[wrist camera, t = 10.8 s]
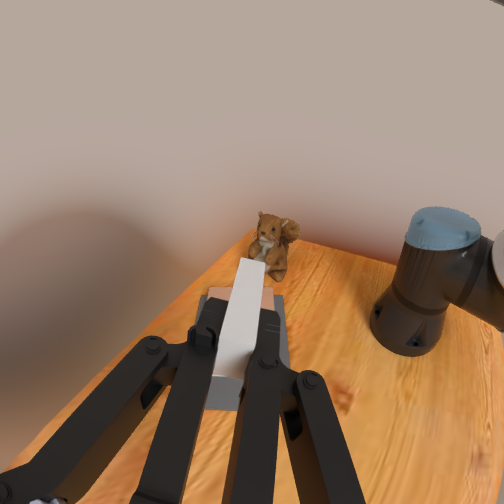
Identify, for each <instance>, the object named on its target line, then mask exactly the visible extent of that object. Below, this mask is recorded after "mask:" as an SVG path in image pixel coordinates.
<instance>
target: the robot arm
mask: <svg viewBox="0 0 504 504" xmlns="http://www.w3.org/2000/svg"><path fill="white" fill-rule="evenodd" d="M491 1H493V2H495V3H498V4H500V5H502V6H504V0H491ZM265 264H266V263H264V262H260V261H255V260H251V259H247V258H243V257H241V260H240V263H239V267H238V271H237V274H236V278H235V281H234V285H233V289H232V292H231V296H230V300H229V301H227V300H223V299H218V298H214V297H210V298H209V299H208V300H207V301H205V303H204V306H203V309H202V311H201V314H200V317H199V319H198V322H197V324H196V325H194V326H192V327H190V329H189V330H188V336H187V341H186V342H185V343H181V344H167V343H166V341H165V340H164V339H162V338H161V337H158V336H147V337H144V338H143V339H141V340H140V341H139V342H138V343H137V344H136V345H135V347H134V348H133V349H132V350H131V351H130V352H129V353H128V354H127V355H126V356H125V357H124V358H123V359H122V360H121V361H120V362H119V363H118V365H117V366H116V367H115V368H114V369H113V370H112V371H111V372H110V373H109V374H108V375H107V376H106V377H105V378H104V380H103V381H102V382H101V383H100V384H99V385H98V386H97V387H96V388H95V389H94V390H93V391H92V393H91V394H90V395H89V396H88V397H87V398H86V399H85V400H84V401H83V402H82V403H81V405H80V406H79V407H78V408H77V409H76V410H75V411H74V412H73V413H72V414H71V416H70V417H69V418H68V419H67V420H66V421H65V422H64V423H63V424H62V426H61V427H60V428H59V429H58V430H57V431H56V432H55V433H54V435H53V436H52V437H51V438H50V439H49V440H48V441H47V442H46V444H45V445H44V446H43V447H42V448H41V449H40V450H39V452H38V453H37V454H36V455H35V456H34V457H33V458H32V460H31V461H30V462H29V463H27V464H24V465H22V466H19V467H17V468H14V469H12V470H9V471H7V472H4V473H1V474H0V504H75V503H76V502H78V501H79V500H80V499H81V498H82V497H83V496H84V495H85V494H86V493H87V492H88V491H89V489H90V488H91V487H92V485H93V484H94V483H95V481H96V480H97V479H98V478H99V476H100V475H101V474H102V472H103V471H104V470H105V468H106V467H107V466H108V464H109V463H110V462H111V461H112V459H113V458H114V457H115V455H116V454H117V453H118V451H119V450H120V449H121V447H122V446H123V445H124V443H125V442H126V441H127V439H128V438H129V437H130V435H131V434H132V433H133V431H134V430H135V429H136V427H137V426H138V425H139V423H140V422H141V421H142V419H143V418H144V417H145V415H146V414H147V413H148V411H149V410H150V409H151V407H152V406H153V405H154V403H155V402H156V401H157V399H158V398H159V397H160V395H161V394H162V393H163V391H164V390H165V388H166V387H167V386H168V385H172V386H171V389H170V392H169V395H168V397H167V400H166V403H165V406H164V409H163V412H162V415H161V418H160V421H159V423H158V426H157V429H156V432H155V435H154V438H153V441H152V444H151V447H150V450H149V453H148V456H147V460H146V463H145V466H144V469H143V472H142V475H141V478H140V482H139V485H138V488H137V490H136V491H135V493H134V494H133V496H132V498H131V500H130V503H129V504H181V503H182V499H183V495H184V490H185V486H186V482H187V478H188V474H189V469H190V465H191V461H192V457H193V453H194V449H195V445H196V441H197V436H198V432H199V428H200V424H201V420H202V416H203V412H204V408H205V404H206V400H207V396H208V392H209V388H210V384H211V379H212V375H213V373H214V374H219V375H223V376H227V377H232V378H236V379H241V380H243V379H244V382H243V386H242V388H241V391H240V394H239V396H238V397H240V399H239V405H238V411H237V417H236V423H235V429H234V435H233V440H232V446H231V452H230V458H229V464H228V469H227V475H226V480H225V486H224V492H223V497H222V503H221V504H273V494H274V484H275V472H276V460H277V446H278V431H279V415H280V417H281V421H282V426H283V430H284V435H285V439H286V444H287V448H288V453H289V457H290V461H291V466H292V470H293V474H294V479H295V483H296V488H297V492H298V496H299V500H300V504H366V503H365V500H364V496H363V493H362V490H361V487H360V484H359V481H358V477H357V474H356V471H355V468H354V465H353V462H352V459H351V456H350V453H349V450H348V447H347V444H346V441H345V438H344V435H343V432H342V429H341V426H340V423H339V421H338V418H337V415H336V412H335V409H334V406H333V403H332V400H331V398H330V395H329V392H328V389H327V386H326V384H325V381H324V379H323V377H322V376H321V375H320V374H318V373H317V372H315V371H311V370H305V371H302V372H301V373H298V372H295V371H293V370H291V369H289V368H287V367H286V366H285V365H284V364H283V363H282V361H281V359H280V355H279V350H280V323H281V318H280V316H279V314H278V312H277V311H273V310H268V309H264V308H260V306H261V298H262V290H263V281H264V273H265ZM450 303H452V304H454V305H456V306H458V307H459V308H461V309H463V310H465V311H467V312H469V313H470V314H472V315H474V316H476V317H478V318H480V319H481V320H483V321H485V322H487V323H488V324H490V325H492V326H494V327H495V328H496V329H497V330H498V331H500V332H502V333H504V230H503V231H501V232H500V233H499V234H498V235H497V237H496V239H495V240H494V241H492V240H490V239H488V238H486V237H484V236H482V235H481V227H480V225H479V223H478V222H477V221H476V220H475V219H474V218H471V217H469V215H467V214H465V213H463V212H460V211H458V210H454V209H450V208H444V207H426V208H422V209H420V210H419V211H417V212H416V213H415V214H414V215H413V217H412V219H411V223H410V226H409V229H408V232H407V233H406V235H405V242H404V246H403V249H402V252H401V256H400V259H399V262H398V265H397V269H396V272H395V275H394V278H393V281H392V283H391V284H390V286H389V287H388V288H387V289H386V290H385V291H384V293H383V294H382V295H381V296H380V297H379V298H378V300H377V301H376V303H375V304H374V307H373V309H372V312H371V315H370V326H371V329H372V332H373V334H374V335H375V337H376V338H377V340H378V341H379V342H380V343H381V344H382V345H383V346H384V347H386V348H387V349H389V350H390V351H392V352H394V353H397V354H399V355H403V356H409V357H415V356H421V355H424V354H426V353H428V352H429V351H431V350H432V349H433V348H434V346H435V345H436V343H437V342H438V340H439V339H440V337H441V334H442V330H443V325H444V320H445V315H446V309H447V307H448V306H449V304H450Z"/></svg>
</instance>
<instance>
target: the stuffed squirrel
mask: <svg viewBox="0 0 504 504" xmlns="http://www.w3.org/2000/svg"><path fill="white" fill-rule="evenodd" d="M258 214H259V217H260V220H259V222H258V227H257V231H256V232H254V233H256V234H255V236H254V239H253V241H254V240H255V237H256V235H257V239H256V240H255V241H254V242H253V243H252V244H251V245H250V247H249V255H248V259H251V260H255V261H260V262H264V263H266V264H265V273H269V275H270V276H271V277H272V278H273V279H274V280H276V281H277V282H280V281H281V280H282V279H283V278H284V276H285V274H286V271H287V252H288V248H289V246H288V244H289V243H293V241H295V240H297V238H298V237H299V236H300V233H301V232H300V231H299V224H298V225H297V224H295V222H294V221H293V220H289V219H287V218H286V219H283V218H282V219H280V218H279V217H277V216H274V215H270V214H264V215H263V213H262V212H258ZM254 233H253V234H254ZM253 234H252V235H253ZM252 235H251V237H252Z"/></svg>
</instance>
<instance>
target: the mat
mask: <svg viewBox="0 0 504 504" xmlns="http://www.w3.org/2000/svg"><path fill="white" fill-rule="evenodd" d="M207 297H208V296H205V295H201V299H200V304H199V309H198V313H197V318H196V323H195V325H196V324H197V322H198V319H199V317H200V314H201V311H202V309H203V306H204V303H205V301H207ZM273 297H274V311H277V312H278V314H279V316H280V318H281V323H280V350H279V355H280V359H281V361H282V363H283V364H284V365H285V366H286V367H287V368H289V369H290V362H289V352H288V342H287V332H286V322H285V313H284V303H283V295H273ZM243 382H244V379H243V380H241V379H236V378H232V377H227V376H212V379H211V384H210V388H209V392H208V396H207V400H206V404H205V408H204V409H211V410H233V411H238V405H239V399H240V397H238V396H239V394H240V391H241V388H242V386H243Z"/></svg>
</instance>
